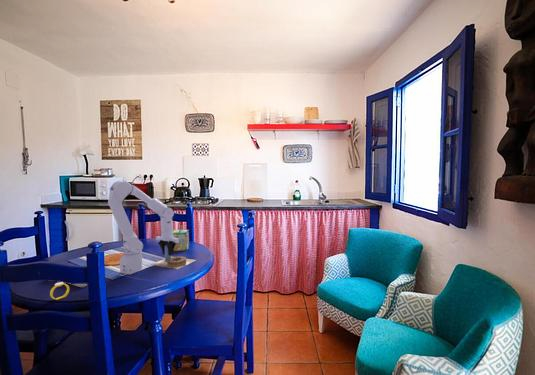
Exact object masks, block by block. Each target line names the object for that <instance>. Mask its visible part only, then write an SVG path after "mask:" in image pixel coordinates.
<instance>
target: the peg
mask: <svg viewBox="0 0 535 375" xmlns="http://www.w3.org/2000/svg"><path fill="white" fill-rule="evenodd" d="M164 248H165V255H164V259H165V261H166V262H167V260H168V259H170V258H171V256H172V255H170V256H169V254H168V247H167V245H165V246H164Z"/></svg>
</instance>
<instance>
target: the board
mask: <svg viewBox="0 0 535 375" xmlns="http://www.w3.org/2000/svg"><path fill="white" fill-rule="evenodd" d="M172 257H173V256H172V255H171V258H172ZM195 261H197V259H192V258H191V259H190V258H186V264H185V265H183V266H180V267H168V266H167V262H166V261H165V258H163V259H160V260H158V261H156V262H153V263H152V264H150V265H151V266H152V265H153V266H157V267H162V268H163V267H164V268H168V269H172V270H179V269H181V268H184V267H185V266H188V265H189V264H192V263H194V262H195Z"/></svg>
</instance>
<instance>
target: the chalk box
mask: <svg viewBox="0 0 535 375" xmlns="http://www.w3.org/2000/svg"><path fill="white" fill-rule="evenodd" d="M182 228H183V225H180V227H179V229H173V236H174V237H175V238H179V242H178V243H176V245H175V247H174V251H173V252H177V251H180V252H181V251H187V250H189V247H190V241H189V240H190V234H189V233H190V232H189V231H190V229H182Z"/></svg>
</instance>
